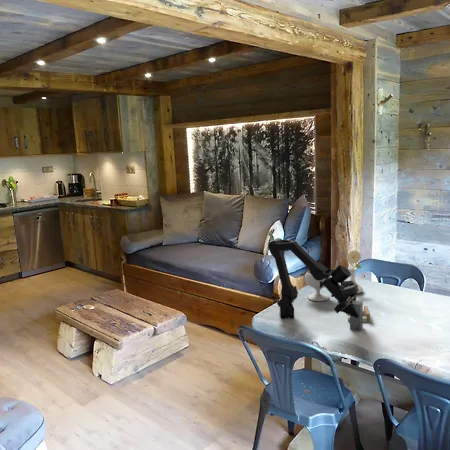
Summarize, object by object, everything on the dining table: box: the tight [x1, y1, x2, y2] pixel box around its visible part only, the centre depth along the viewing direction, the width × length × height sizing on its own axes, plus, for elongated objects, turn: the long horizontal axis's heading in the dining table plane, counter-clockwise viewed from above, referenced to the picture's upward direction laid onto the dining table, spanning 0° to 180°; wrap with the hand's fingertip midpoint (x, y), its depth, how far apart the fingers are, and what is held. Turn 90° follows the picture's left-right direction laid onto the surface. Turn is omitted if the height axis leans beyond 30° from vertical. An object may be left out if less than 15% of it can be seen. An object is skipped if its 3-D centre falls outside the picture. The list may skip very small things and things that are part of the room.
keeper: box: [345, 305, 371, 323], centre depth 209 cm, size 10×10×4 cm
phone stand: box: [339, 280, 356, 297], centre depth 227 cm, size 9×6×12 cm, turn 7°
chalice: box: [304, 269, 332, 302], centre depth 237 cm, size 14×14×15 cm
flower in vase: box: [346, 249, 364, 294], centre depth 241 cm, size 13×11×25 cm
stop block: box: [349, 300, 364, 332], centre depth 197 cm, size 4×4×12 cm
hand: (359, 315), depth 196 cm, fingers closed on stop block, 4 cm apart
